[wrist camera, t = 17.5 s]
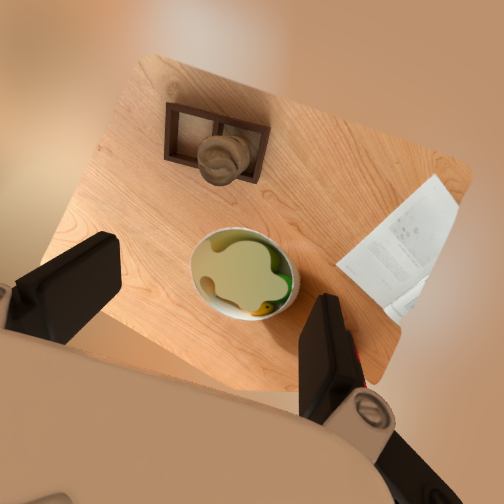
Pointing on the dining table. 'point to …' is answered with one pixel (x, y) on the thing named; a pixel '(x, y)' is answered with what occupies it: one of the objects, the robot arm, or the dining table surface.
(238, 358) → the dining table surface
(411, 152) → the dining table surface
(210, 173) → the light bulb
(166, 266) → the dining table surface
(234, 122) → the socket block
